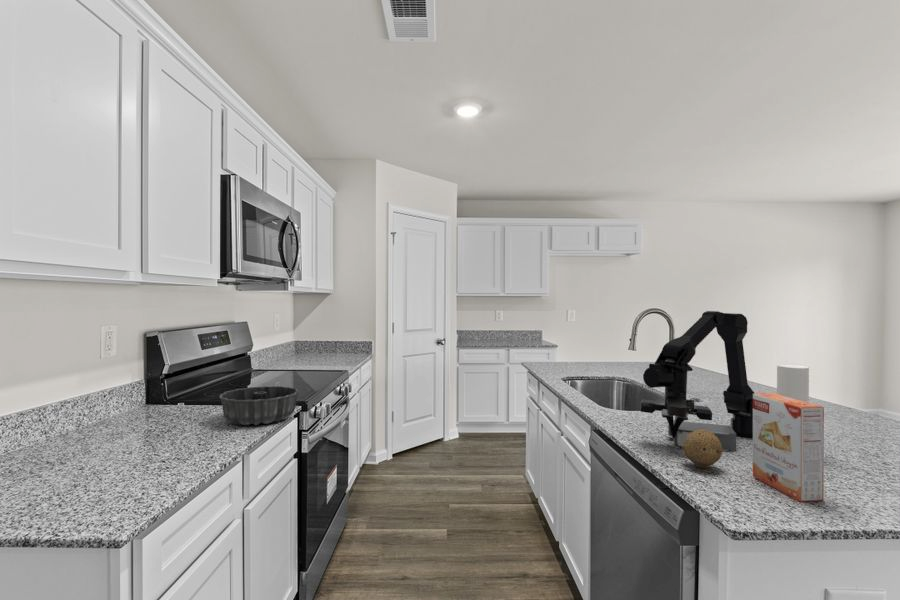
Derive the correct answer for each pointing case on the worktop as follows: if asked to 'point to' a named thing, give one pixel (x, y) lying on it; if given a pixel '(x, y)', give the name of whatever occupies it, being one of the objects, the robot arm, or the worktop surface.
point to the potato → (702, 448)
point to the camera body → (720, 431)
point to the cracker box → (789, 445)
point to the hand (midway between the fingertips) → (673, 438)
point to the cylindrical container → (793, 381)
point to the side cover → (682, 437)
